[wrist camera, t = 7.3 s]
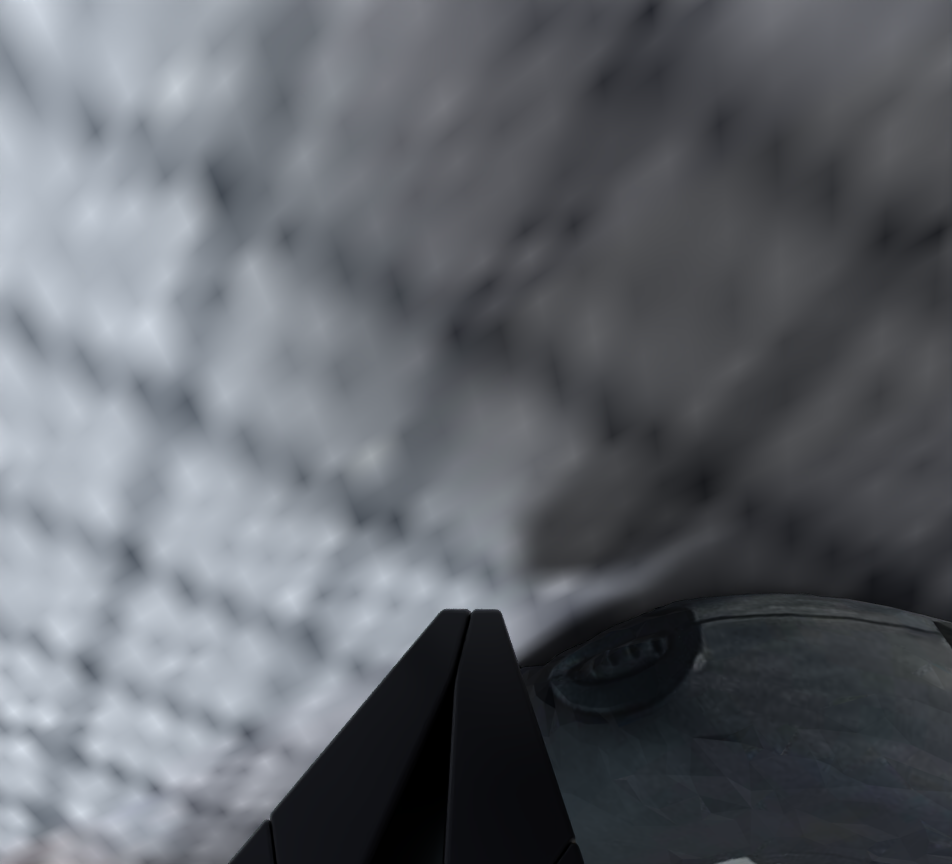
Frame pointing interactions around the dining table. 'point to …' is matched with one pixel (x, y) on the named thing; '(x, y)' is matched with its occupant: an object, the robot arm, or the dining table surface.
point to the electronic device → (755, 734)
